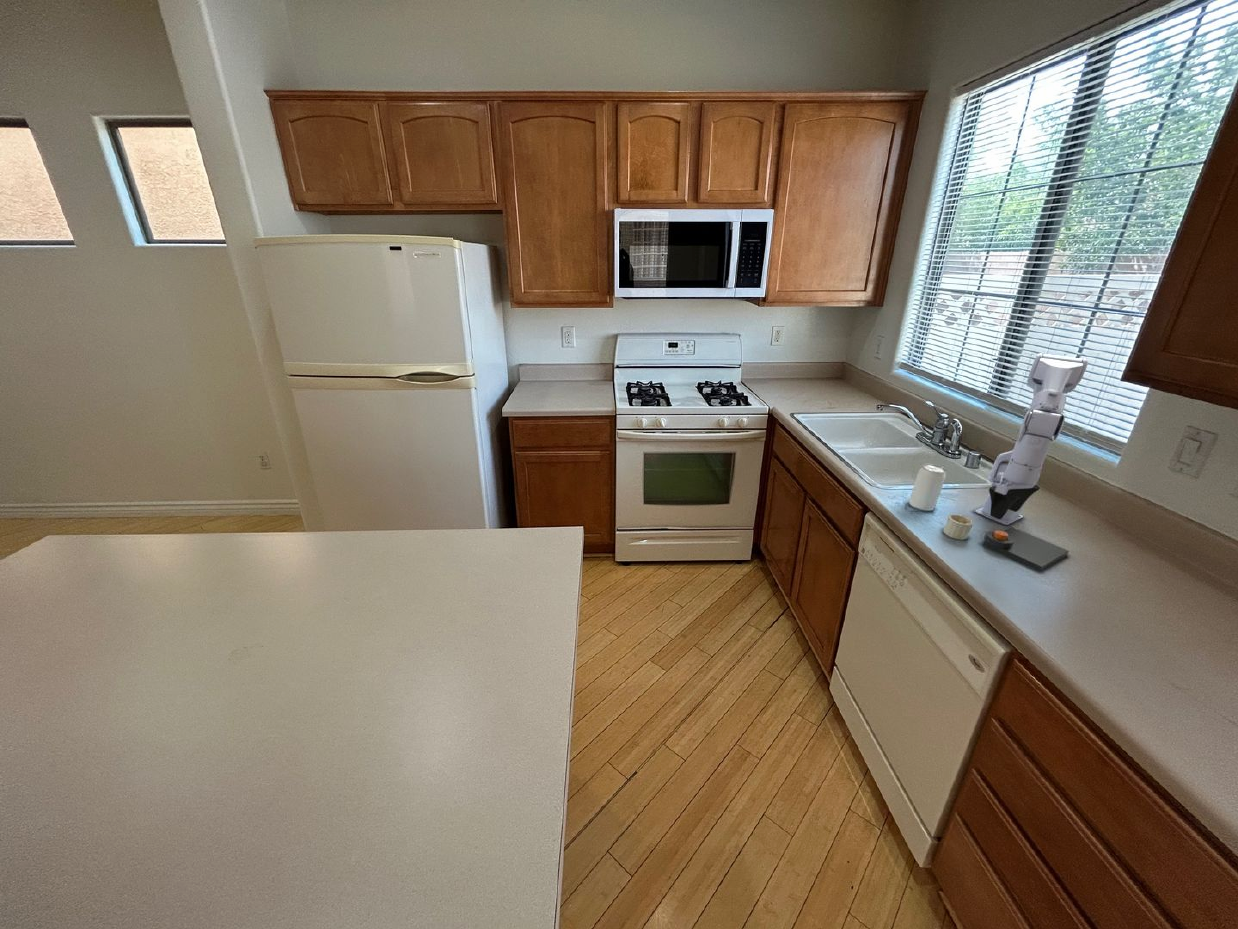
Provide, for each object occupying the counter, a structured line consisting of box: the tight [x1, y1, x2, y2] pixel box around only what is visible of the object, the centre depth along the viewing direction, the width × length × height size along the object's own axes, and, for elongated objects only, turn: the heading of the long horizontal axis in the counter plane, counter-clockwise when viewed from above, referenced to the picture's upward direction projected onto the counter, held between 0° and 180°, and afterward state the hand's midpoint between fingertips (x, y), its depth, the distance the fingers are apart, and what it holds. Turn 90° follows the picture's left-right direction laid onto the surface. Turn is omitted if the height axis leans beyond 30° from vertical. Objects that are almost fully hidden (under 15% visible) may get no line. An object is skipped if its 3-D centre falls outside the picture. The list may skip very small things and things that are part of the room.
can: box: [908, 463, 947, 512], centre depth 133 cm, size 6×6×12 cm
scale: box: [982, 526, 1069, 572], centre depth 116 cm, size 15×13×3 cm
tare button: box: [993, 529, 1008, 541], centre depth 116 cm, size 3×3×2 cm
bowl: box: [943, 513, 974, 541], centre depth 121 cm, size 5×5×4 cm
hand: (1003, 513), depth 114 cm, fingers open, 7 cm apart
